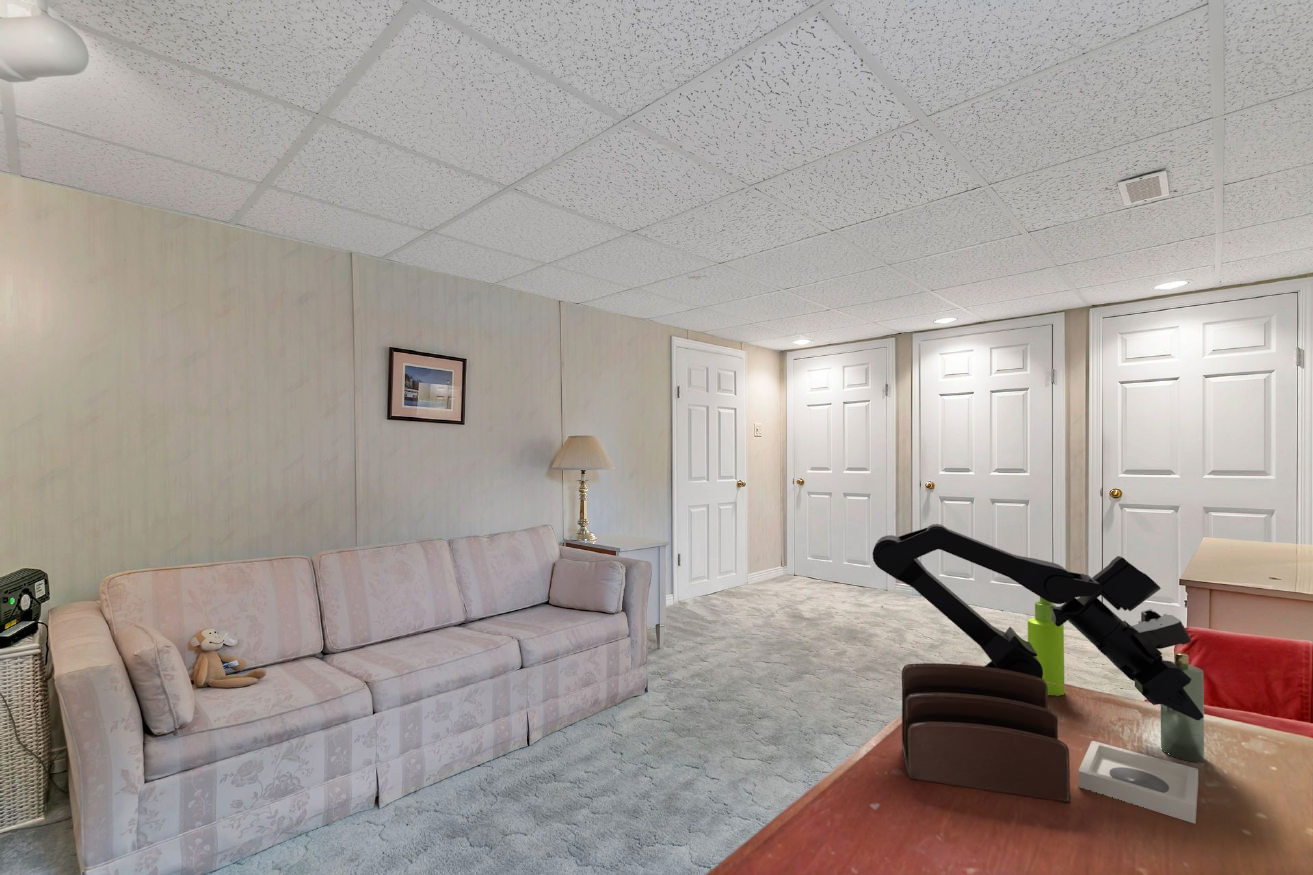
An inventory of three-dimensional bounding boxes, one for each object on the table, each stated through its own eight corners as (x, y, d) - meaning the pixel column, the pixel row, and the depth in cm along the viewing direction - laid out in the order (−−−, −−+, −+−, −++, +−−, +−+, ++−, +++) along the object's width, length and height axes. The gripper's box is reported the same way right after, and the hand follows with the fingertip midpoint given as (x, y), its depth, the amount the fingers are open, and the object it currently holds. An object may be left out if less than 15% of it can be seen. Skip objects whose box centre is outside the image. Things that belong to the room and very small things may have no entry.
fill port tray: (1078, 786, 83) (1078, 770, 83) (1092, 755, 92) (1091, 740, 92) (1195, 823, 75) (1195, 805, 75) (1198, 784, 84) (1197, 768, 84)
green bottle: (1159, 753, 92) (1158, 654, 92) (1162, 741, 96) (1161, 646, 96) (1204, 765, 89) (1202, 662, 89) (1204, 752, 92) (1203, 654, 93)
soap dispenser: (1076, 697, 113) (1075, 590, 114) (1035, 694, 115) (1034, 588, 115) (1062, 685, 119) (1060, 583, 120) (1023, 683, 120) (1022, 582, 121)
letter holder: (901, 747, 94) (901, 656, 95) (1047, 767, 88) (1046, 670, 89) (907, 780, 85) (907, 679, 85) (1071, 805, 79) (1070, 696, 79)
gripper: (1171, 611, 86) (1275, 703, 81) (1128, 585, 103) (1212, 659, 98) (1105, 659, 89) (1202, 750, 84) (1074, 626, 106) (1153, 700, 101)
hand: (1193, 711), depth 92 cm, fingers closed on green bottle, 5 cm apart
